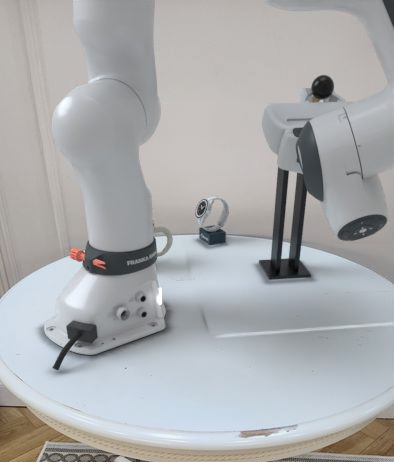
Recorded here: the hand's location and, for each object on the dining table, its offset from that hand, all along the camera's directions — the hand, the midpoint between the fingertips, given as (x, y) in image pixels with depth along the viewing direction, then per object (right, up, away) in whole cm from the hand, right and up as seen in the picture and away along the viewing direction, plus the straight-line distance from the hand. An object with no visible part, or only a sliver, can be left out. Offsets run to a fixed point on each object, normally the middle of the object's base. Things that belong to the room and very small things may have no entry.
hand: (316, 91), depth 88 cm
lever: (0, -3, +4) cm, 5 cm away
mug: (-31, -24, +30) cm, 49 cm away
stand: (-1, -26, +26) cm, 37 cm away
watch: (-16, -17, +41) cm, 47 cm away
